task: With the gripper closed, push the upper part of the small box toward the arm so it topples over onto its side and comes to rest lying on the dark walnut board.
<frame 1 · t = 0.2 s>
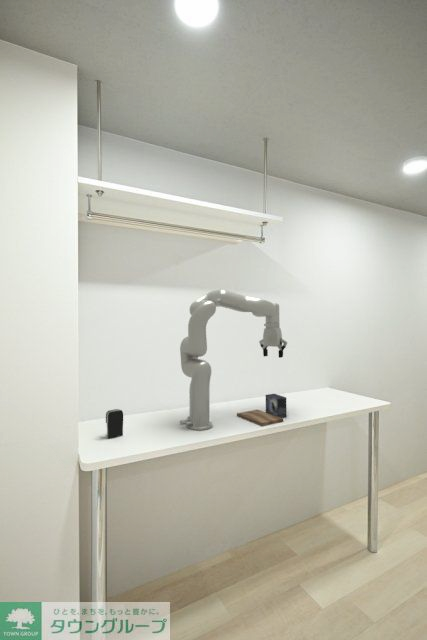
hand: (273, 356, 178), 31 cm above the table, tool pointing down, fingers open, 9 cm apart
battery charger: (114, 436, 140), on the table
small box: (275, 416, 172), on the table
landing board: (259, 418, 165), on the table
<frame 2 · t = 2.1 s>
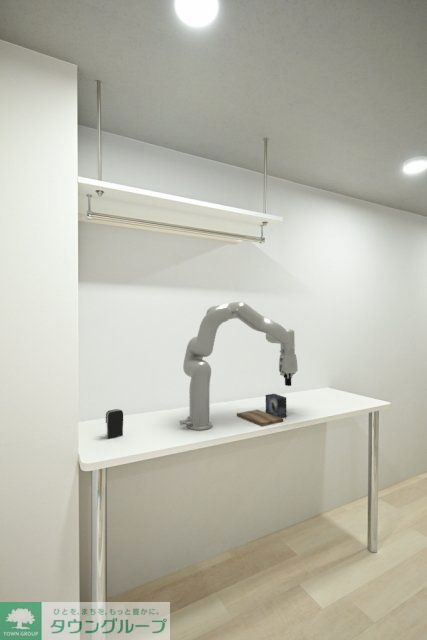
hand: (288, 385, 177), 15 cm above the table, tool pointing down, fingers closed
nothing on the table moved.
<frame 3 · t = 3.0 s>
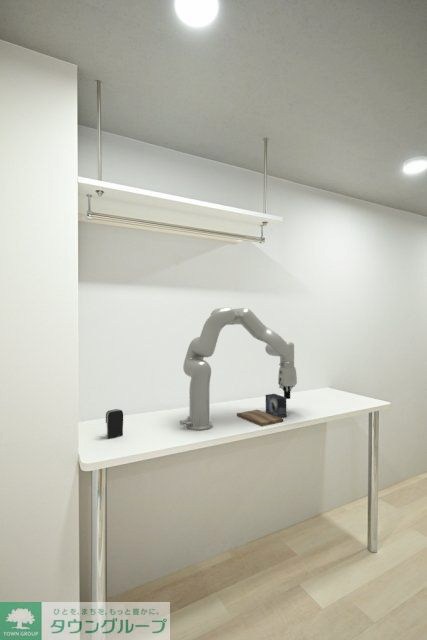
hand: (287, 398, 176), 8 cm above the table, tool pointing down, fingers closed
nothing on the table moved.
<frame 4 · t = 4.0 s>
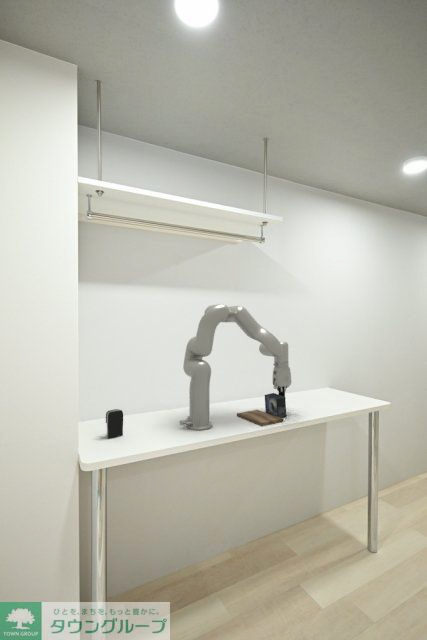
hand: (281, 398, 174), 8 cm above the table, tool pointing down, fingers closed
small box: (275, 415, 172), on the table, touching gripper
everything else where it was.
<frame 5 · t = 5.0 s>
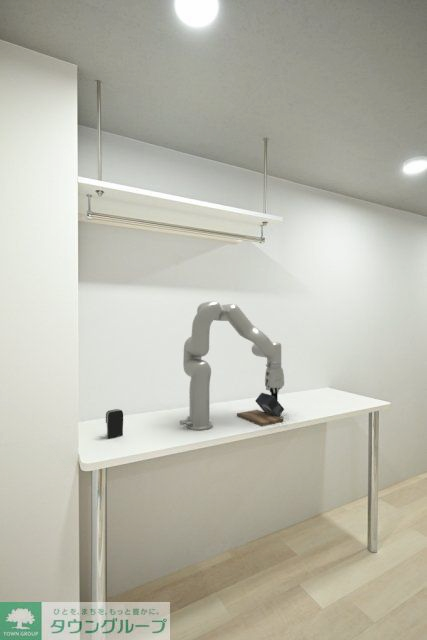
hand: (274, 400, 171), 8 cm above the table, tool pointing down, fingers closed
small box: (274, 411, 171), point 2 cm above the table, touching gripper, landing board
everything else where it was.
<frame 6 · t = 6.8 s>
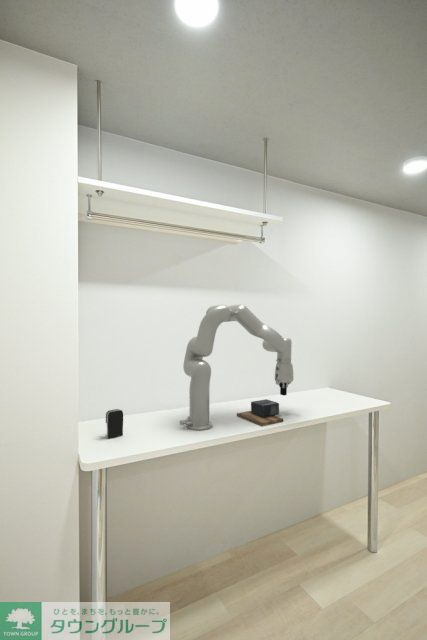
hand: (283, 394, 175), 10 cm above the table, tool pointing down, fingers closed
small box: (272, 407, 171), point 5 cm above the table, touching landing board
everything else where it was.
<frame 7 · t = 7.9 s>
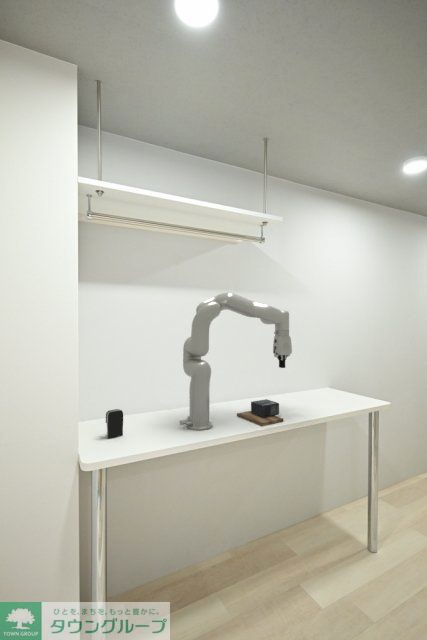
hand: (282, 367, 174), 25 cm above the table, tool pointing down, fingers closed
nothing on the table moved.
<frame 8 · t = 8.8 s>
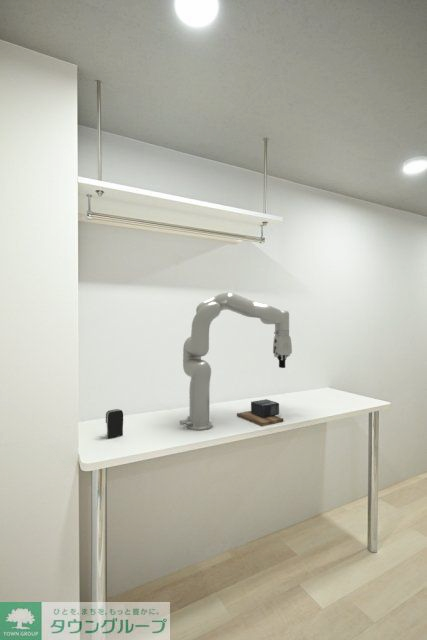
hand: (282, 367, 174), 25 cm above the table, tool pointing down, fingers closed
nothing on the table moved.
at the end: small box tilted 89°; small box touching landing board; small box inside the target area (3.1 cm from its centre), point 4.6 cm above the table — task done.
